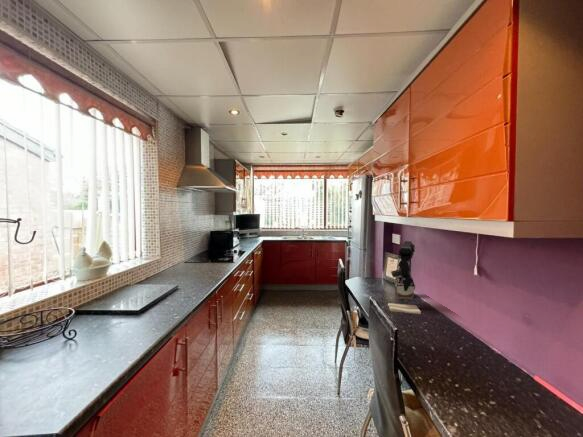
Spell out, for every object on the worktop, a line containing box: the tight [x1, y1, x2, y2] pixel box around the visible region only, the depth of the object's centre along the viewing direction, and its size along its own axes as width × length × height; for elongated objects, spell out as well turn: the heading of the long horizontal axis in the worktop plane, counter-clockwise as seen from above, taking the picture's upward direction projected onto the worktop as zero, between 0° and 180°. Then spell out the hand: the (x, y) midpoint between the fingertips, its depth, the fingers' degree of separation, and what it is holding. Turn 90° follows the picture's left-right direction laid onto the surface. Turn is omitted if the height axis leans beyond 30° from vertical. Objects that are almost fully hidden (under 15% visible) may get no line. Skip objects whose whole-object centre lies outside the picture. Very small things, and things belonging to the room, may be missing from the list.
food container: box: [395, 280, 416, 299], centre depth 174 cm, size 12×6×10 cm, turn 79°
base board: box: [387, 302, 422, 315], centre depth 174 cm, size 12×18×1 cm, turn 79°
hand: (404, 289), depth 174 cm, fingers closed on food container, 6 cm apart
